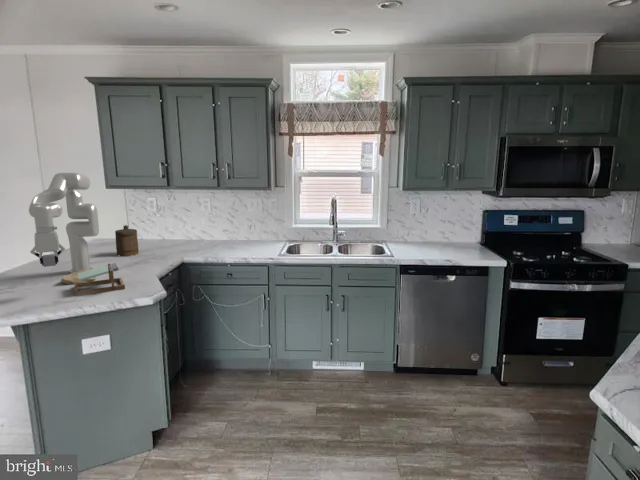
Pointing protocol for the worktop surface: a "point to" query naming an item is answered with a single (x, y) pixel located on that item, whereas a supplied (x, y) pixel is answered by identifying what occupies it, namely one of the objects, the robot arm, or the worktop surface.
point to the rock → (75, 278)
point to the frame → (97, 290)
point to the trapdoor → (96, 272)
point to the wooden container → (126, 241)
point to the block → (49, 260)
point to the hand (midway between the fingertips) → (49, 263)
